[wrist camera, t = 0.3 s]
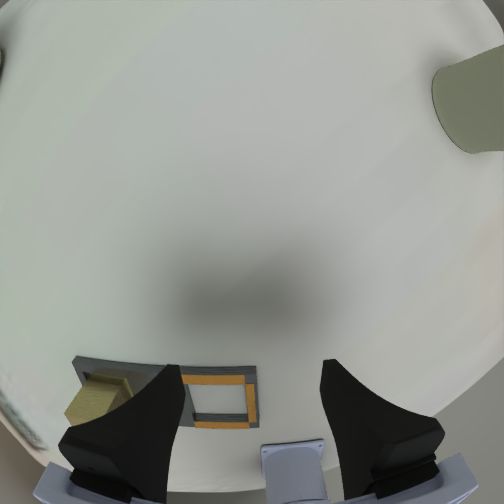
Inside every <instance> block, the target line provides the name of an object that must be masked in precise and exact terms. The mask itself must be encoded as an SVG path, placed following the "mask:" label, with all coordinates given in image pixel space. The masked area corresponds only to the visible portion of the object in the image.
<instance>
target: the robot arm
mask: <svg viewBox="0 0 504 504" xmlns="http://www.w3.org/2000/svg"><path fill="white" fill-rule="evenodd" d="M320 394H321V399H322V404H323V408H324V410H325V413H326V416H327V419H328V422H329V425H330V428H331V430H332V433H333V436H334V439H335V443H336V447H337V452H338V457H339V462H340V468H341V475H342V482H343V490H344V500H345V501H341V502H336V503H331V502H330V499H328V496H327V491H326V486H325V482H324V477H323V472H322V467H321V463H320V459H321V455H322V452H323V448H324V444H325V442H324V440H316V441H309V442H301V443H292V444H281V445H267V446H262V447H261V457H262V473H263V477H264V478H266V495H267V504H458V503H460V502H461V501H462V500H463V499H464V498H466V497H467V496H468V495H469V494H470V493H471V492H473V491H474V490H475V489H476V488H477V487H478V486H479V483H478V482H477V480H476V478H475V476H474V475H473V473H472V471H471V469H470V468H469V466H468V464H467V463H466V461H465V459H464V458H463V456H462V454H461V453H460V452H458V453H456V454H454V455H453V456H451V457H449V458H447V459H445V460H443V461H442V462H440V463H438V464H437V465H436V463H435V461H434V460H436V456H435V454H434V452H435V450H436V449H437V448H438V446H439V445H440V443H441V442H442V440H443V438H444V436H445V431H444V430H443V428H442V426H441V425H440V423H439V422H438V421H437V419H436V418H432V417H428V416H424V415H420V414H416V413H413V412H411V411H408V410H405V409H403V408H400V407H398V406H396V405H394V404H392V403H390V402H388V401H386V400H385V399H383V398H381V397H380V396H378V395H376V394H375V393H373V392H372V391H371V390H369V389H368V388H367V387H365V386H364V385H363V384H362V383H360V382H359V381H358V380H357V379H356V378H355V377H354V376H352V375H351V374H350V373H349V372H348V371H347V370H346V369H345V368H344V367H343V366H342V365H341V364H340V363H339V362H338V361H337V360H336V359H330V360H323V368H322V375H321V382H320ZM185 396H186V392H185V388H184V384H183V380H182V376H181V372H180V368H179V365H171V364H167V365H166V366H165V367H164V368H163V369H162V370H161V371H160V372H159V373H158V374H157V375H156V376H155V377H154V378H153V379H152V380H151V381H150V382H149V383H148V384H147V385H146V386H145V387H144V388H143V389H142V390H140V391H139V392H138V393H137V394H136V395H135V396H133V397H132V398H131V399H129V400H128V401H127V402H125V403H124V404H122V405H121V406H119V407H118V408H116V409H114V410H112V411H110V412H109V413H107V414H105V415H103V416H101V417H98V418H96V419H94V420H91V421H88V422H86V423H82V424H79V425H75V426H72V427H69V428H68V429H67V431H66V432H65V434H64V436H63V437H62V439H61V441H60V442H59V444H58V447H59V450H60V452H61V453H62V455H63V456H64V457H65V458H66V459H67V460H68V462H69V463H70V464H71V465H72V466H73V467H74V470H73V472H71V471H69V470H68V469H66V468H64V467H62V466H59V465H57V464H55V463H53V462H49V464H48V466H47V467H46V469H45V471H44V473H43V475H42V477H41V479H40V480H39V482H38V484H37V486H36V488H35V490H34V492H33V495H34V496H35V497H36V498H38V499H39V500H40V501H41V502H43V503H44V504H166V496H167V482H168V472H169V464H170V457H171V451H172V446H173V442H174V439H175V435H176V432H177V429H178V426H179V422H180V419H181V416H182V412H183V409H184V403H185Z"/></svg>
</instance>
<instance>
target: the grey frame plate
mask: <svg viewBox="0 0 504 504" xmlns="http://www.w3.org/2000/svg"><path fill="white" fill-rule="evenodd" d="M72 364H73V366H74V368H75V371H76V373H77V375H78V377H79V379H80V381H81V383H82V385H84V383H85V382H86V381H87V379H88V378H89V376H90V375H91V374H90V373H94V374H100V375H106V376H113V377H120V378H126V379H127V381H128V384H129V386H130V389H131V391H132V393H133V396H135V395H136V394H137V393H138V392H139V391H140V390H142V389H143V388H144V387H145V386H146V385H147V384H148V383H149V382H150V381H151V380H152V379H153V378H154V377H155V376H156V375H157V374H158V373H159V372H160V371H161V370H162V369H163V368H164V367H165V366H159V365H145V364H134V363H124V362H115V361H107V360H99V359H92V358H85V357H79V356H76V357H75V358H74V360H73V361H72ZM179 368H180V372H181V376H182V380H183V384H184V388H185V392H186V396H185V403H184V409H183V412H182V416H181V419H180V422H179V426H187V427H196V428H213V429H250V428H259V409H258V393H257V377H256V366H248V367H179ZM188 384H200V385H241V384H245V388H246V398H247V408H248V414H197V413H195V410H194V406H193V403H192V399H191V396H190V392H189V388H188Z"/></svg>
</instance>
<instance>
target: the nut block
mask: <svg viewBox="0 0 504 504" xmlns="http://www.w3.org/2000/svg"><path fill="white" fill-rule="evenodd" d="M132 397H133V393H132V391H131V389H130V386H129V384H128V381H127V379H126V378H120V377H113V376H106V375H100V374H94V373H92V374H91V375H90V376H89V378H88V379H87V381H86V382H85V383H84V385H83V386H82V388H81V389H80V390H79V392H78V393H77V395H76V396H75V398H74V399H73V401H72V402H71V404H70V405H69V407H68V408H67V409H66V411H65V412H64V414H65V416H66V417H67V419H68V421H69V422H70V424H71V425H72V426H75V425H79V424H82V423H86V422H88V421H91V420H94V419H96V418H98V417H101V416H103V415H105V414H107V413H109V412H110V411H112V410H114V409H116V408H118V407H119V406H121V405H122V404H124V403H125V402H127V401H128V400H129V399H131V398H132Z"/></svg>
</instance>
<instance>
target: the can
mask: <svg viewBox="0 0 504 504" xmlns="http://www.w3.org/2000/svg"><path fill="white" fill-rule="evenodd" d="M432 96H433V102H434V107H435V110H436V113H437V116H438V118H439V120H440V123H441V125H442V126H443V128H444V130H445V132H446V133H447V135H448V136H449V137H450V139H451V140H452V141H453V142H454V143H455V144H456V145H457V146H458V147H459V148H461V149H462V150H464V151H466V152H469V153H479V152H485V151H504V45H501V46H499V47H496V48H493V49H491V50H488V51H486V52H483V53H481V54H479V55H476V56H474V57H472V58H469V59H467V60H464V61H462V62H460V63H457V64H455V65H453V66H450V67H445V68H442V69H440V70H439V71H438V72H437V73H436V75H435V77H434V79H433V84H432Z"/></svg>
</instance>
